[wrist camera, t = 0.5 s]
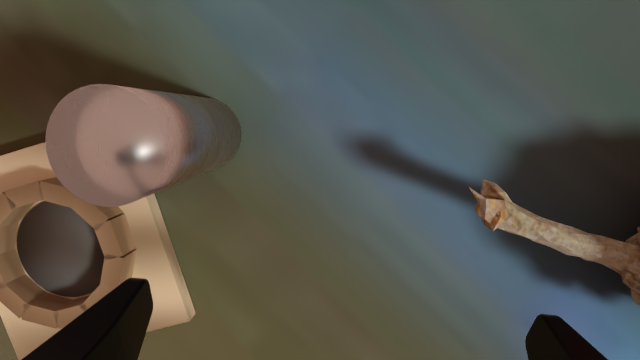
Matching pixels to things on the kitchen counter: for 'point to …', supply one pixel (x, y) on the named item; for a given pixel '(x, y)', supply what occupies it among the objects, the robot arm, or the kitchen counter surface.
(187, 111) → the billet
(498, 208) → the pine cone
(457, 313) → the kitchen counter surface
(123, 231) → the board
